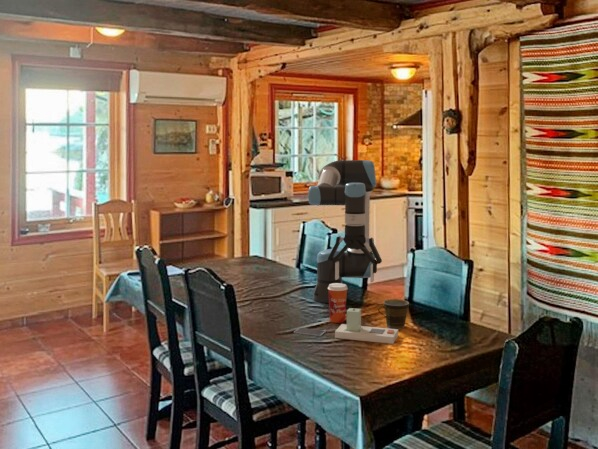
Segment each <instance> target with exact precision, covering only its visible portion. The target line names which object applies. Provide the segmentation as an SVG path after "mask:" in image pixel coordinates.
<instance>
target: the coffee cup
mask: <svg viewBox="0 0 598 449" xmlns="http://www.w3.org/2000/svg"><path fill="white" fill-rule="evenodd" d="M348 289H349V288H348V286H347V284H345V283H343V282H342V283H333V284H329V286H328V291H329V303H328V308H329V321H330V322H331V323H336V324H340V323H341V324H343V323H345V321H346V312H347V308H346V307H347V293H348Z"/></svg>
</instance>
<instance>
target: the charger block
mask: <svg viewBox="0 0 598 449" xmlns="http://www.w3.org/2000/svg"><path fill="white" fill-rule="evenodd" d="M346 324H347V331H353V332H360V331H361V326H362V309H361V308H352V307H349V308H348V309H346Z"/></svg>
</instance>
